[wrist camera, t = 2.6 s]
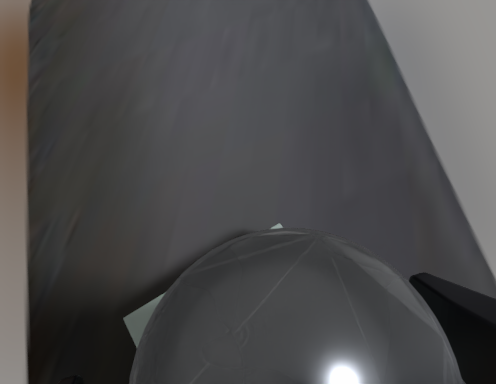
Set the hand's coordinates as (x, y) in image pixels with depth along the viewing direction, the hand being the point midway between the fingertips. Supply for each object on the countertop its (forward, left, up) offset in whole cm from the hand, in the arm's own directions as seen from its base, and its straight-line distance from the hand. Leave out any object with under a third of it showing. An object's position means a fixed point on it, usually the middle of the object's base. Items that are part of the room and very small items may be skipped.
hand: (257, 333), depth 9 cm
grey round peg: (-1, 0, -8) cm, 8 cm away
